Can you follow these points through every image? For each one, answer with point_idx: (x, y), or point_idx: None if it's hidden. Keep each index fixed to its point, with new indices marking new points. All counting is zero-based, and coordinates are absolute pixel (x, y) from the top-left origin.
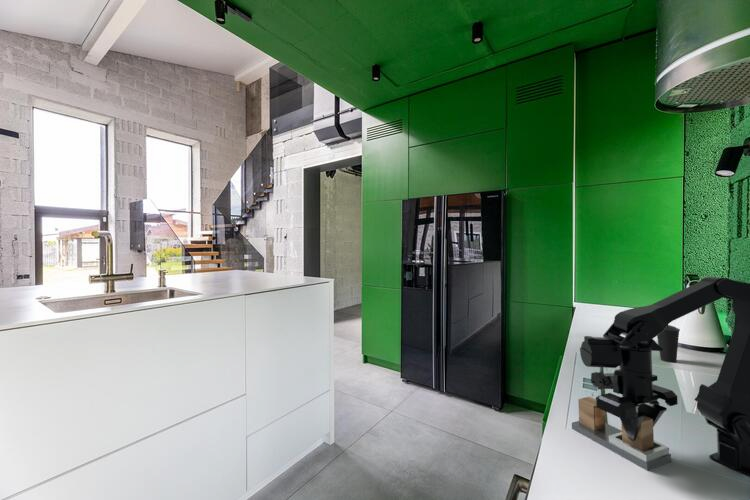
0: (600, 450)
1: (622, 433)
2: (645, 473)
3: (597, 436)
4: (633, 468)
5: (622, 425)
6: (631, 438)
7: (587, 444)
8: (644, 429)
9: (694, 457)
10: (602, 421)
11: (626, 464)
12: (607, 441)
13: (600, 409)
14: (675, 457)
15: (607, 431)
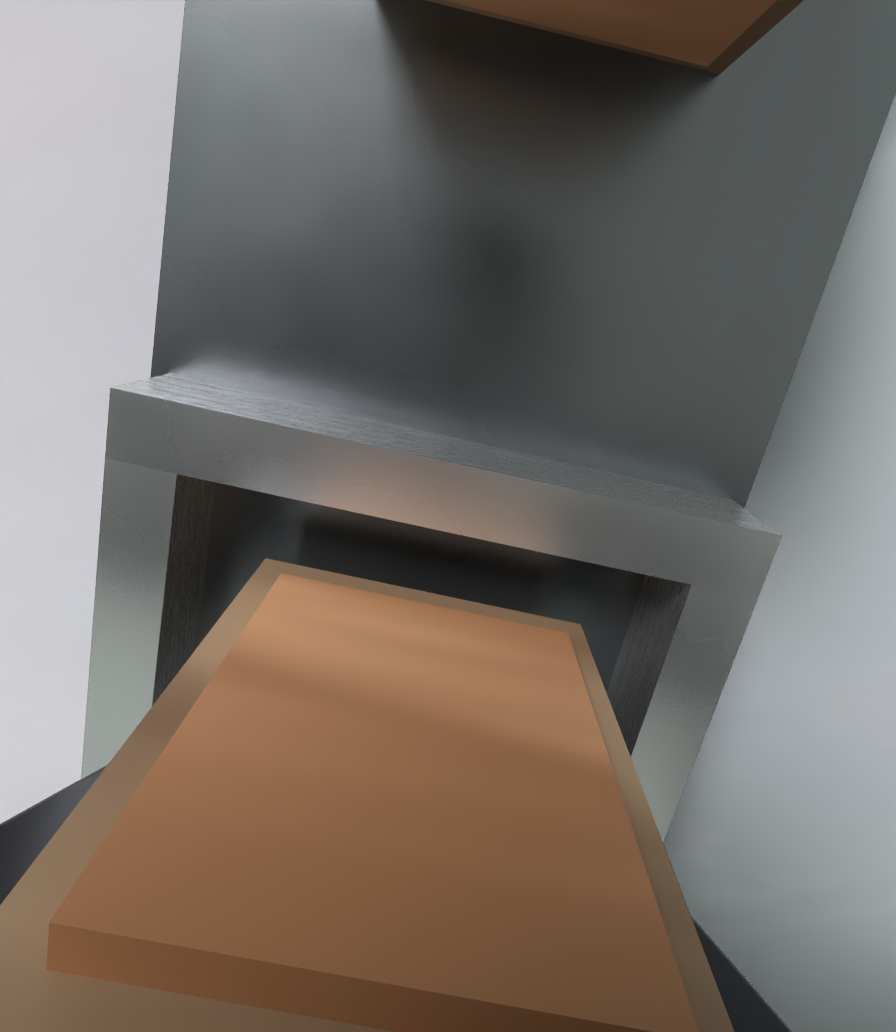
0: (46, 306)
1: (224, 621)
2: None
3: (171, 158)
4: (47, 698)
5: (147, 733)
6: None
7: (14, 95)
8: None
9: (876, 966)
10: (623, 10)
11: (51, 630)
12: (170, 348)
13: None
14: (713, 872)
15: (542, 192)
